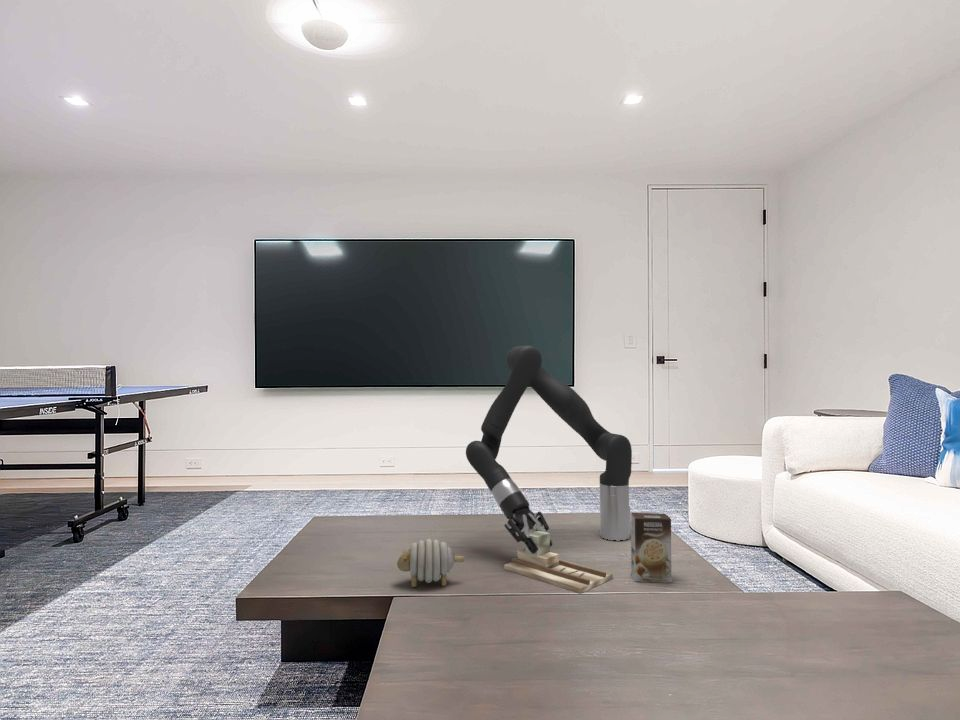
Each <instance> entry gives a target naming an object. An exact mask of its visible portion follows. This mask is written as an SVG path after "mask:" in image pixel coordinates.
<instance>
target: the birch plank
mask: <svg viewBox="0 0 960 720" xmlns="http://www.w3.org/2000/svg"><path fill="white" fill-rule="evenodd" d="M503 566H504V568H503V569H504V570H506V571H509V572H512V573H515V574H518V575H522V576H526V577H528V578H531V579H534V580H538V581H540V582H543V583H547V584H549V585H553V586H556V587H559V588H563V589H566V590H569V591H571V592H574V593H579V594H582V592H583V593H585V592H587V591H589V590H591V589H593V588H596V587H597V586H600V585H601V584H604V583H606V582H608V581H610V580H613V579H614V578H613V577H614V575H613V573H611V572H607V571H603V570H602V569H601V570H600V569H596V568H592V567H589V566H586V565H582V564H578V563H575V562H570V561H568V560H564V559H561V558H559V565H558V566H556V567H553V568H547V567H543V566H540V565H537V564H533V563H530V562H526V561H523V560H520V559H518V558H516V557H512V558H511V562H509V563H505V564H504V565H503Z"/></svg>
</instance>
